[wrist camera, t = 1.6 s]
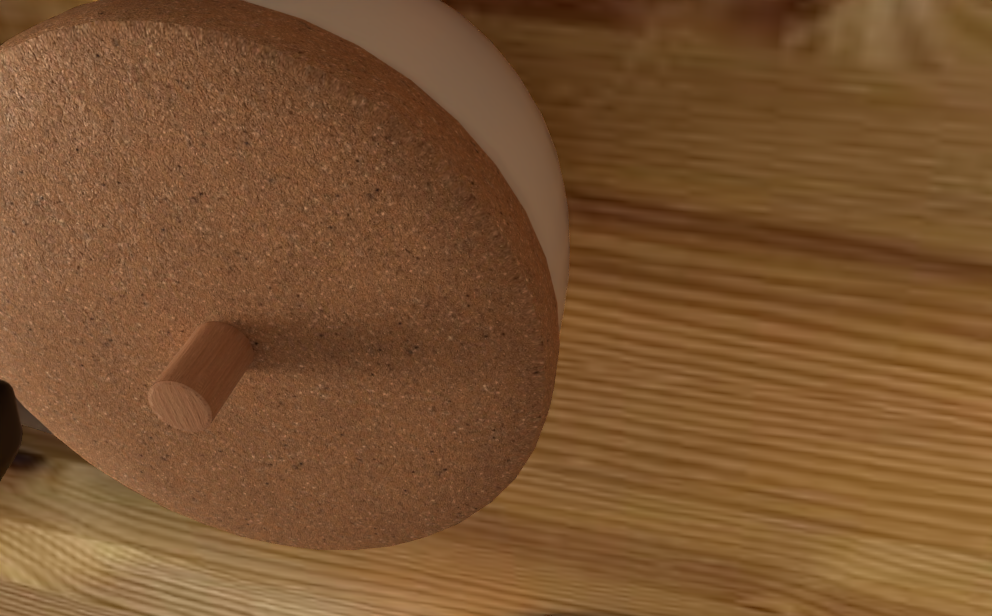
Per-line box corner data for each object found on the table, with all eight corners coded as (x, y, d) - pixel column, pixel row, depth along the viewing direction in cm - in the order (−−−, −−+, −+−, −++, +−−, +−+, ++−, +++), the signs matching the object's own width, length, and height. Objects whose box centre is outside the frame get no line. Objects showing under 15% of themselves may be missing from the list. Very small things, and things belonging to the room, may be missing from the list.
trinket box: (245, 321, 25) (43, 603, 18) (84, -80, 19) (-323, 95, 12) (627, 319, 22) (574, 653, 15) (580, -154, 16) (451, 16, 9)
